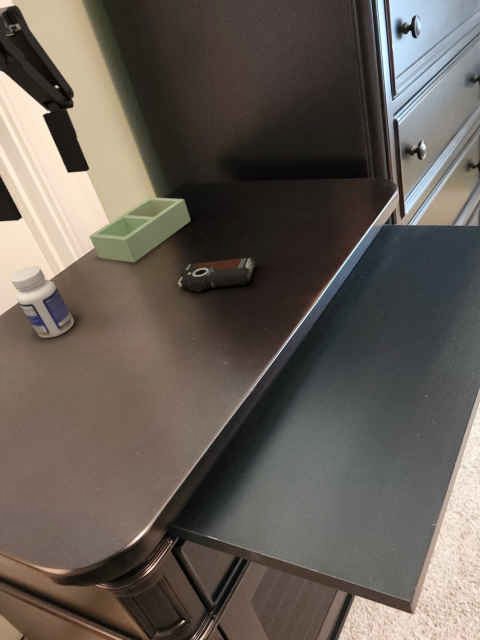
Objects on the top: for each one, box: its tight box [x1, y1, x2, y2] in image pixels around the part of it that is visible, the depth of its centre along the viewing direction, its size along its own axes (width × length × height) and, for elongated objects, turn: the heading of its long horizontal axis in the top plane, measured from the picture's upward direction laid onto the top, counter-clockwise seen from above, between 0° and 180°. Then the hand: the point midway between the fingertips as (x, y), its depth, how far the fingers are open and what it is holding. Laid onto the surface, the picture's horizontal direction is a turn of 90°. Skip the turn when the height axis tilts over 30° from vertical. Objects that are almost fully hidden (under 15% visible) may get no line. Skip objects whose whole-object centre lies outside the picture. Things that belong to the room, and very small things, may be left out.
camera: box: [177, 256, 256, 293], centre depth 77 cm, size 6×3×11 cm
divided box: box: [89, 196, 192, 263], centre depth 93 cm, size 8×16×4 cm, turn 152°
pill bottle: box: [9, 265, 75, 339], centre depth 72 cm, size 5×5×9 cm
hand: (47, 193), depth 59 cm, fingers open, 13 cm apart
